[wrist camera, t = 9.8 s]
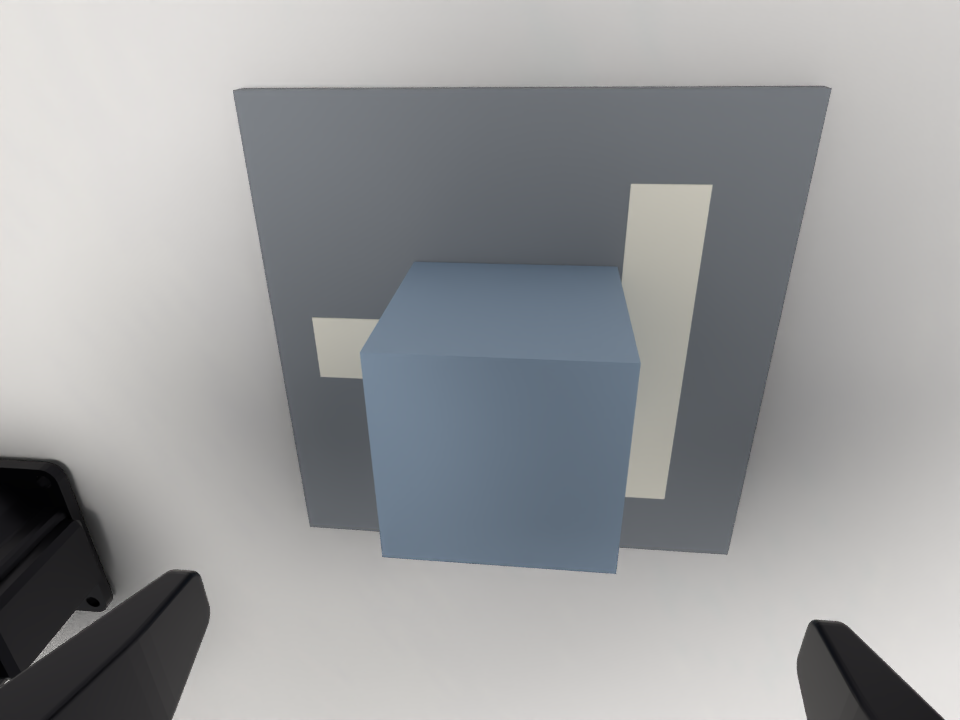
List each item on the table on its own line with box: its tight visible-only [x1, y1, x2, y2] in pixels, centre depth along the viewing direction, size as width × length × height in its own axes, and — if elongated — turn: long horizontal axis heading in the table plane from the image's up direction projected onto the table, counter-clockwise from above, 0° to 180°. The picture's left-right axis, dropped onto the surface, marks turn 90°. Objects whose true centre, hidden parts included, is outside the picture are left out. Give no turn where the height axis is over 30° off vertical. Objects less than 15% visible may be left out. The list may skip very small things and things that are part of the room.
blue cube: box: [360, 262, 641, 574], centre depth 15 cm, size 5×5×5 cm
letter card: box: [233, 86, 831, 555], centre depth 17 cm, size 13×13×1 cm
